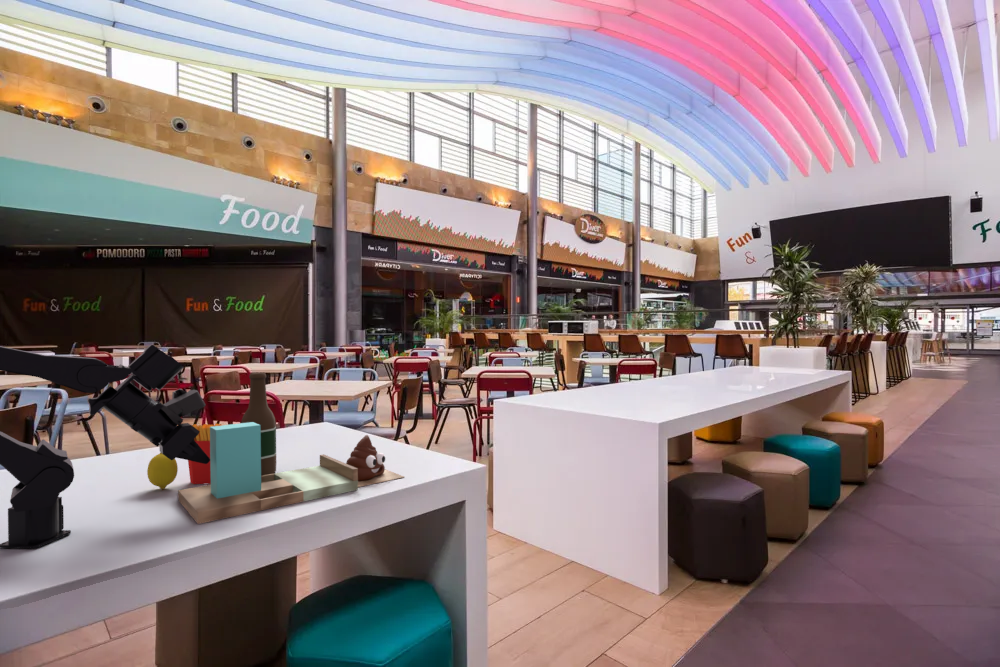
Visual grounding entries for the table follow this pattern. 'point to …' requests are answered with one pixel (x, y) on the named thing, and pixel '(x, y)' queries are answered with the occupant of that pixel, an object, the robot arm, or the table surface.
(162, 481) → the lemon
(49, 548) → the table surface
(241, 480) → the block
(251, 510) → the board
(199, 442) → the french fries
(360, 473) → the poop emoji
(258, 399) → the beer bottle
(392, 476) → the coaster
